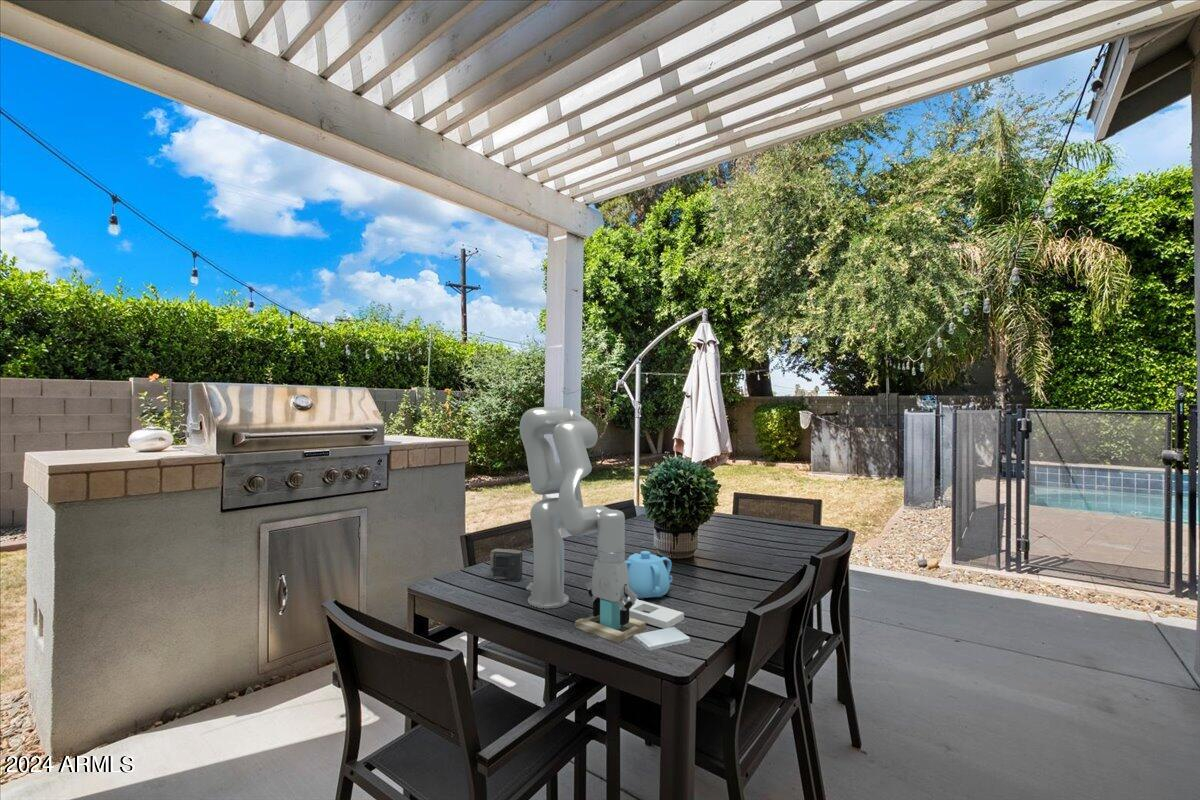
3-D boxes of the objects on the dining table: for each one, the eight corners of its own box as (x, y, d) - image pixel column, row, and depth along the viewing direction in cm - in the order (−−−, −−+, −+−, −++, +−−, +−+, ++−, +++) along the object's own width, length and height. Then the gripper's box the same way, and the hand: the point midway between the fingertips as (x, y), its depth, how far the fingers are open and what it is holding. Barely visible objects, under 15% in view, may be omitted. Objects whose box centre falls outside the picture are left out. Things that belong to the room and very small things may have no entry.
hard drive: (673, 626, 150) (632, 633, 144) (690, 637, 142) (648, 646, 137) (673, 632, 150) (632, 640, 144) (690, 644, 142) (648, 652, 137)
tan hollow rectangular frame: (575, 627, 151) (575, 621, 151) (603, 615, 160) (603, 608, 160) (618, 643, 141) (618, 636, 141) (645, 628, 150) (645, 622, 150)
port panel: (609, 611, 163) (609, 604, 163) (627, 603, 170) (627, 596, 170) (666, 629, 150) (666, 622, 150) (684, 619, 157) (684, 612, 157)
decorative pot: (610, 596, 176) (610, 553, 176) (634, 582, 190) (634, 542, 190) (656, 606, 167) (656, 561, 167) (678, 591, 181) (678, 549, 181)
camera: (524, 578, 193) (524, 549, 193) (517, 583, 188) (518, 553, 188) (494, 575, 196) (495, 546, 197) (487, 580, 191) (487, 551, 191)
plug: (599, 628, 150) (600, 599, 150) (609, 624, 153) (609, 595, 153) (611, 632, 148) (611, 602, 148) (620, 628, 151) (620, 598, 151)
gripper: (578, 553, 153) (578, 615, 153) (627, 565, 142) (627, 632, 142) (595, 548, 159) (595, 608, 159) (644, 559, 148) (644, 623, 148)
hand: (610, 619), depth 150 cm, fingers open, 9 cm apart
